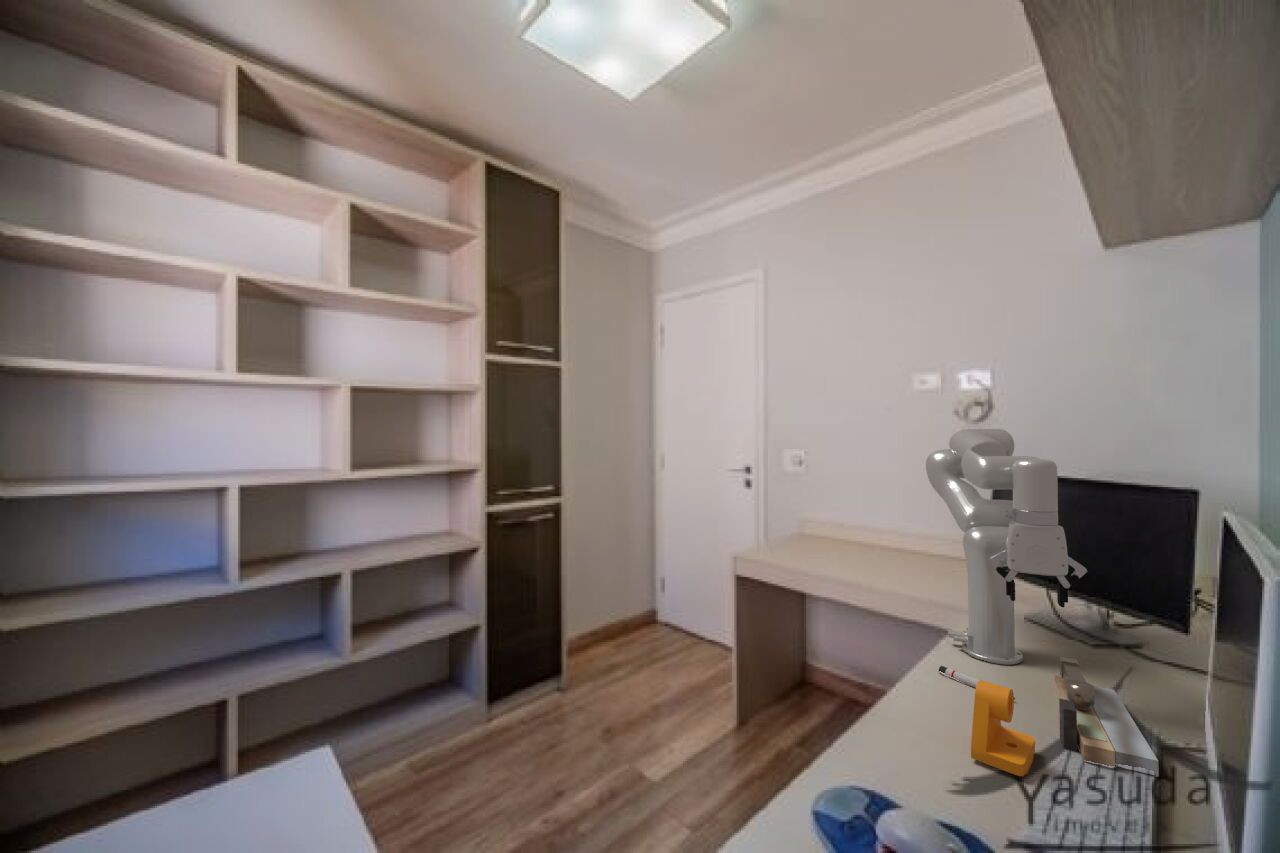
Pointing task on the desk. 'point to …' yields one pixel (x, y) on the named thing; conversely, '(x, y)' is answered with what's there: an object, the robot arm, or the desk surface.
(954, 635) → the robot arm
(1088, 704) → the door handle
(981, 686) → the bracket
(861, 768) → the desk surface
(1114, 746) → the doorframe
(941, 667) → the marker
